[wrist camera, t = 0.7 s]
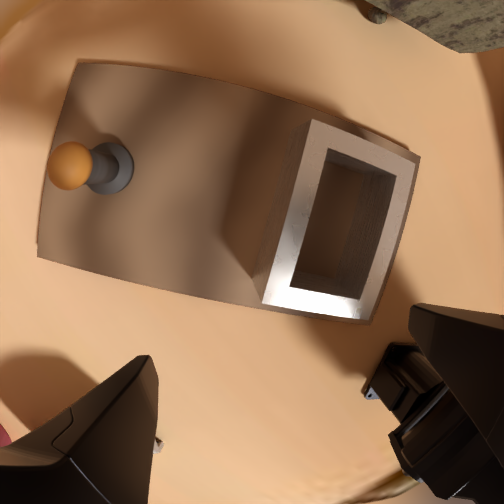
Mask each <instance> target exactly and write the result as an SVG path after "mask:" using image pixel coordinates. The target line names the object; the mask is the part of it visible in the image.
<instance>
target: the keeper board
mask: <svg viewBox="0 0 504 504" xmlns="http://www.w3.org/2000/svg"><path fill="white" fill-rule="evenodd" d="M311 119H314V120H317V121H320V122H322V123H325V124H328V125H330V126H333V127H335V128H338V129H340V130H343V131H345V132H348V133H350V134H353V135H355V136H357V137H360V138H362V139H364V140H367V141H369V142H371V143H373V144H376V145H378V146H380V147H382V148H384V149H386V150H389V151H391V152H393V153H395V154H397V155H399V156H401V157H403V158H405V159H407V160H409V161H411V162H413V163H415V169H414V174H413V178H412V183H411V187H410V191H409V196H408V200H407V204H406V208H405V211H404V215H403V219H402V223H401V226H400V230H399V233H398V237H397V240H396V243H395V246H394V250H393V253H392V256H391V259H390V262H389V265H388V268H387V271H386V274H385V277H384V280H383V283H382V286H381V288H380V291H379V294H378V297H377V299H376V302H375V305H374V307H373V310H372V312H371V315H370V317H369V320H363V319H356V318H349V317H342V316H335V315H328V314H322V313H316V312H309V311H303V310H297V309H291V308H285V307H280V306H274V305H268V304H263V303H261V301H260V298H259V296H258V294H257V291H256V289H255V287H254V284H253V282H252V280H251V278H252V274H253V271H254V267H255V263H256V260H257V256H258V252H259V249H260V245H261V241H262V237H263V234H264V230H265V226H266V223H267V219H268V215H269V211H270V208H271V204H272V200H273V197H274V193H275V189H276V185H277V182H278V178H279V174H280V170H281V167H282V163H283V159H284V155H285V151H286V148H287V144H288V140H289V136H290V133H291V130H293V129H294V128H296V127H298V126H300V125H302V124H303V123H305V122H307V121H309V120H311ZM420 158H421V157H420V156H418V155H416V154H414V153H413V152H411V151H409V150H407V149H405V148H403V147H401V146H399V145H397V144H395V143H393V142H391V141H389V140H387V139H385V138H383V137H381V136H379V135H377V134H374V133H372V132H370V131H368V130H366V129H363V128H361V127H359V126H357V125H354V124H352V123H350V122H347V121H345V120H342V119H340V118H337V117H335V116H332V115H330V114H327V113H325V112H322V111H319V110H317V109H314V108H311V107H308V106H306V105H303V104H300V103H297V102H294V101H291V100H288V99H285V98H282V97H279V96H275V95H272V94H269V93H265V92H262V91H258V90H255V89H251V88H248V87H244V86H240V85H236V84H232V83H228V82H224V81H219V80H215V79H210V78H206V77H201V76H196V75H191V74H185V73H179V72H173V71H167V70H160V69H153V68H145V67H137V66H127V65H115V64H99V63H78V65H77V67H76V70H75V72H74V75H73V78H72V80H71V83H70V86H69V89H68V92H67V95H66V98H65V101H64V104H63V107H62V111H61V114H60V117H59V121H58V124H57V128H56V132H55V136H54V140H53V144H52V148H51V153H50V157H49V160H48V164H47V173H46V178H45V184H44V191H43V197H42V205H41V213H40V223H39V234H38V249H37V257H40V258H43V259H46V260H50V261H53V262H57V263H60V264H64V265H67V266H71V267H74V268H78V269H82V270H85V271H89V272H93V273H97V274H100V275H104V276H108V277H112V278H116V279H120V280H124V281H128V282H132V283H137V284H141V285H145V286H149V287H154V288H158V289H162V290H167V291H171V292H176V293H180V294H185V295H190V296H195V297H199V298H204V299H209V300H214V301H219V302H224V303H230V304H235V305H240V306H245V307H251V308H257V309H262V310H268V311H274V312H280V313H286V314H292V315H298V316H304V317H311V318H318V319H324V320H331V321H338V322H346V323H353V324H361V325H369V326H370V325H371V322H372V320H373V317H374V315H375V312H376V310H377V307H378V304H379V302H380V299H381V297H382V294H383V291H384V288H385V286H386V283H387V280H388V277H389V274H390V271H391V268H392V265H393V262H394V259H395V256H396V253H397V250H398V247H399V243H400V240H401V237H402V233H403V230H404V226H405V222H406V219H407V215H408V211H409V207H410V203H411V199H412V195H413V191H414V187H415V182H416V178H417V173H418V168H419V163H420ZM363 177H364V175H363V174H360V173H358V172H355V171H353V170H350V169H347V168H345V167H342V166H339V165H337V164H334V163H331V162H328V161H324V165H323V169H322V173H321V176H320V180H319V184H318V188H317V191H316V195H315V199H314V203H313V206H312V210H311V213H310V217H309V221H308V224H307V228H306V231H305V235H304V238H303V242H302V245H301V249H300V252H299V255H298V259H297V262H296V265H295V269H294V270H296V271H301V272H305V273H310V274H315V275H319V276H324V277H329V278H334V277H335V274H336V271H337V268H338V265H339V262H340V259H341V256H342V252H343V249H344V246H345V243H346V239H347V236H348V232H349V229H350V226H351V222H352V219H353V215H354V211H355V208H356V204H357V200H358V197H359V193H360V189H361V185H362V181H363Z"/></svg>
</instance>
